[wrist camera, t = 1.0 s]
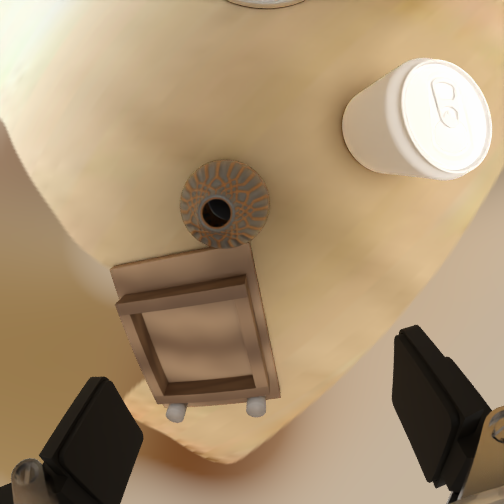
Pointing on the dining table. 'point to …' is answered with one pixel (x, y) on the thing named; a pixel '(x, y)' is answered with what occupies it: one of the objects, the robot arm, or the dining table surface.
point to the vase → (224, 204)
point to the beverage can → (420, 122)
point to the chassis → (198, 329)
